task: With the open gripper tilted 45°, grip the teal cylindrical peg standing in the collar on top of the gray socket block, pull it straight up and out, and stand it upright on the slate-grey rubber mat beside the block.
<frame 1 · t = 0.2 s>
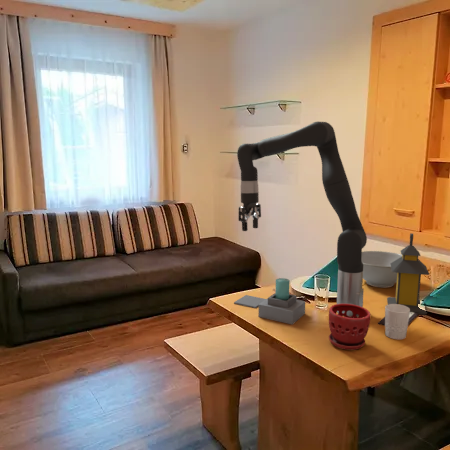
hand: (250, 229, 193), 28 cm above the table, tool pointing down, fingers open, 8 cm apart
chocolate bar: (398, 320, 170), on the table
mat: (250, 302, 188), on the table
plant pot: (347, 344, 150), on the table
teal cylindrical peg: (282, 302, 173), point 5 cm above the table, touching gray socket block
gray socket block: (281, 315, 174), on the table
lantern: (406, 307, 182), on the table
decorative bowl: (379, 283, 210), on the table
white cup: (395, 335, 156), on the table
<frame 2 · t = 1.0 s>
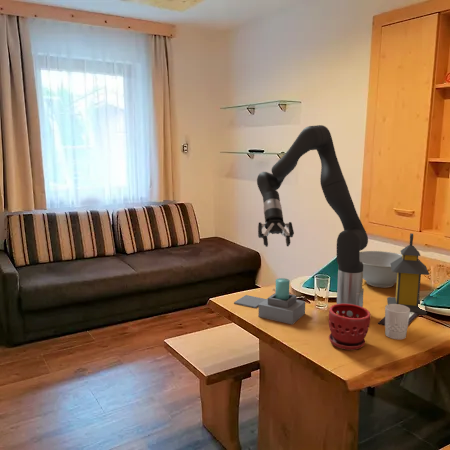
hand: (277, 245, 180), 25 cm above the table, tool tilted 45°, fingers open, 8 cm apart
nothing on the table moved.
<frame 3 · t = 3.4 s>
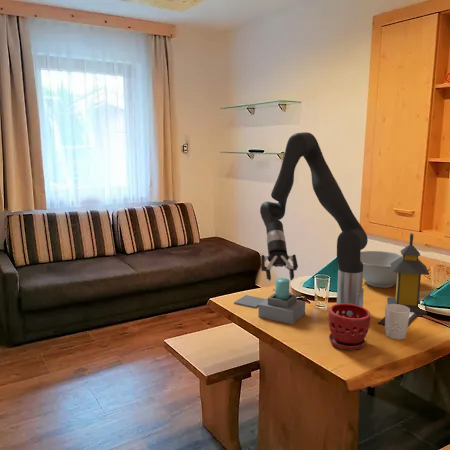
hand: (280, 279, 175), 13 cm above the table, tool tilted 45°, fingers open, 8 cm apart
nothing on the table moved.
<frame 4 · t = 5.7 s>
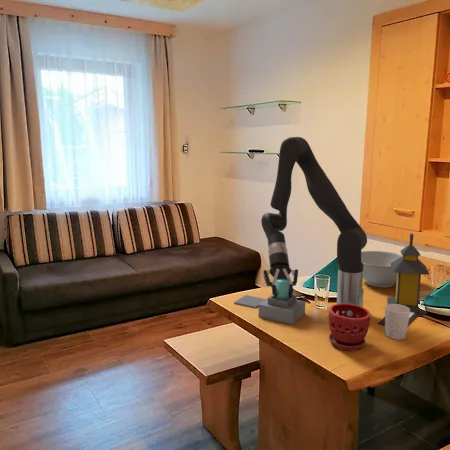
hand: (283, 295, 170), 9 cm above the table, tool tilted 45°, fingers closed on teal cylindrical peg, 5 cm apart
teal cylindrical peg: (282, 302, 173), point 5 cm above the table, touching gripper, gray socket block
everything else where it was.
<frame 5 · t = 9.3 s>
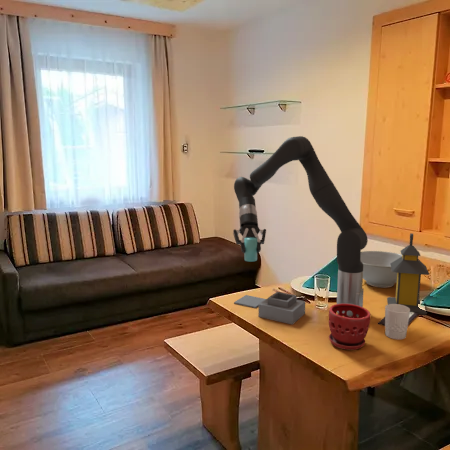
hand: (251, 252, 182), 22 cm above the table, tool tilted 45°, fingers closed on teal cylindrical peg, 5 cm apart
teal cylindrical peg: (250, 259, 184), point 18 cm above the table, touching gripper
everything else where it was.
when the fingers open (6 cm above the table, at t = 13.1 s): teal cylindrical peg drops 1 cm, resting on mat.
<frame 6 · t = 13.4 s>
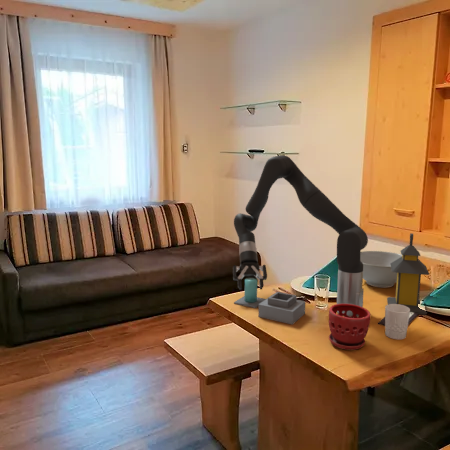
hand: (251, 288, 185), 6 cm above the table, tool tilted 45°, fingers open, 8 cm apart
teal cylindrical peg: (250, 300, 188), point 1 cm above the table, touching mat
everything else where it was.
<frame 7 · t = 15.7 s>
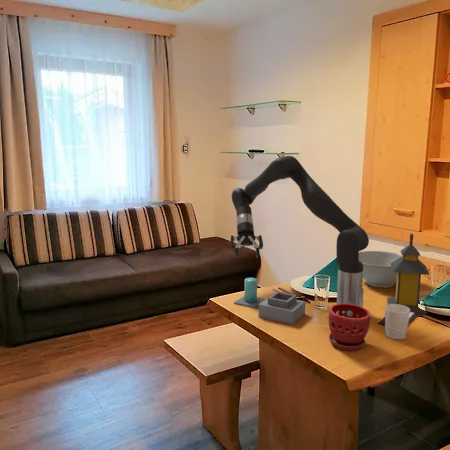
hand: (247, 257, 196), 16 cm above the table, tool tilted 45°, fingers open, 8 cm apart
nothing on the table moved.
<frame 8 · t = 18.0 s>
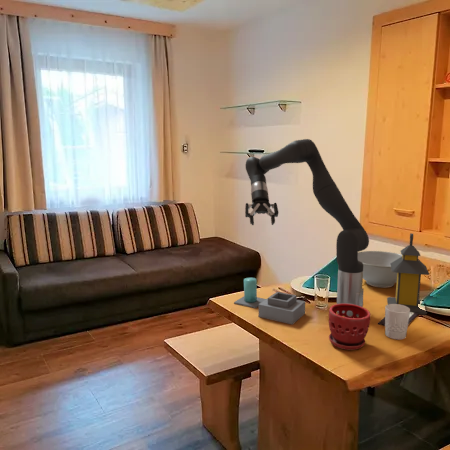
hand: (262, 224, 193), 31 cm above the table, tool tilted 45°, fingers open, 8 cm apart
nothing on the table moved.
at the end: teal cylindrical peg 0.1 cm off-centre on the mat, point 0.7 cm above the mat's base; teal cylindrical peg tilted 2°; the gripper is holding nothing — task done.
